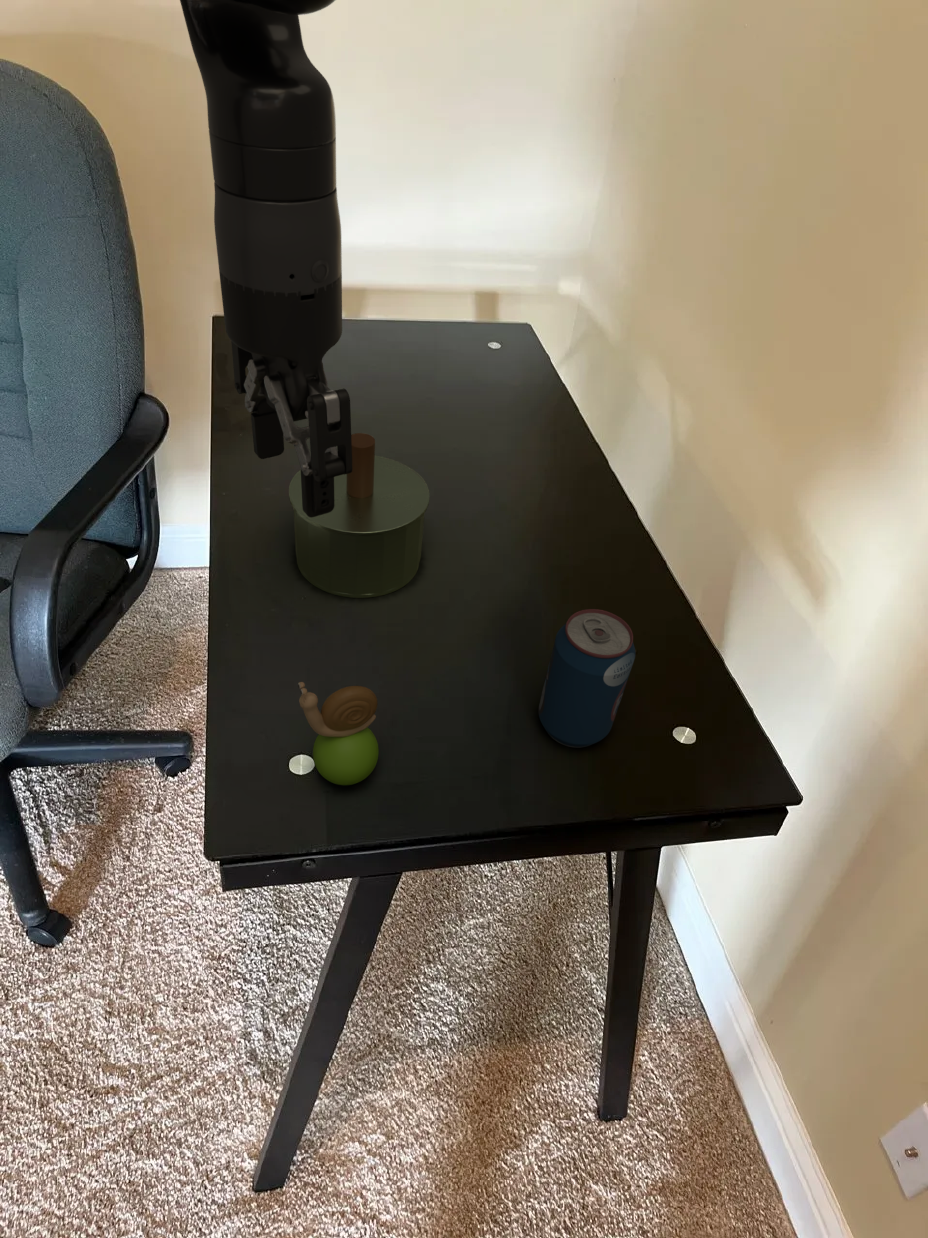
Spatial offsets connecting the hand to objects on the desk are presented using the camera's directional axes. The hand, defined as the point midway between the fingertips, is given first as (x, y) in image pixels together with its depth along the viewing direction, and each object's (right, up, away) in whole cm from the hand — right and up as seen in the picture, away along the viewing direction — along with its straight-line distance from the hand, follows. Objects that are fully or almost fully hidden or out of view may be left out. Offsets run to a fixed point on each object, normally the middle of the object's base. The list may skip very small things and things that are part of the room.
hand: (293, 482), depth 62 cm
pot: (+1, -4, +30) cm, 30 cm away
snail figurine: (+2, -24, +8) cm, 25 cm away
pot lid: (+2, +3, +24) cm, 25 cm away
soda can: (+23, -20, +15) cm, 34 cm away
